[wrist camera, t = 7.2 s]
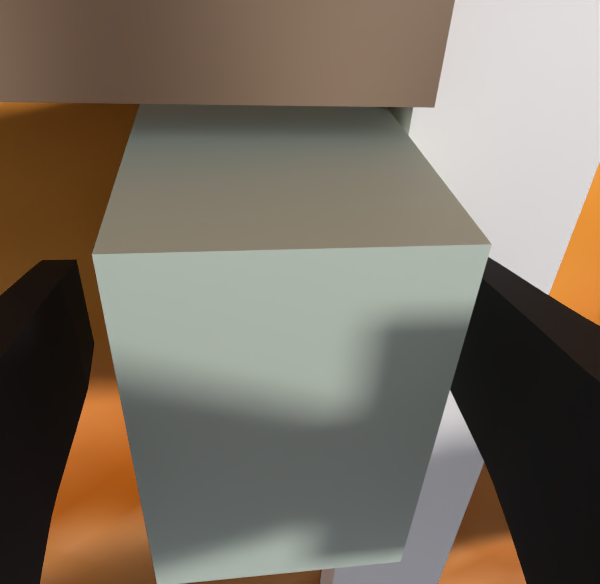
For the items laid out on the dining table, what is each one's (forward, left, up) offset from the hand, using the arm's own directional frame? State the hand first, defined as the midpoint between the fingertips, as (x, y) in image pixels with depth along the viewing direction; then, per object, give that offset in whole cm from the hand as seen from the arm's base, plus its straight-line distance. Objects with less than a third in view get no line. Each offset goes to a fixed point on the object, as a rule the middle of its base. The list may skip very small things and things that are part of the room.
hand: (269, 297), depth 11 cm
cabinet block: (0, 0, -2) cm, 2 cm away
